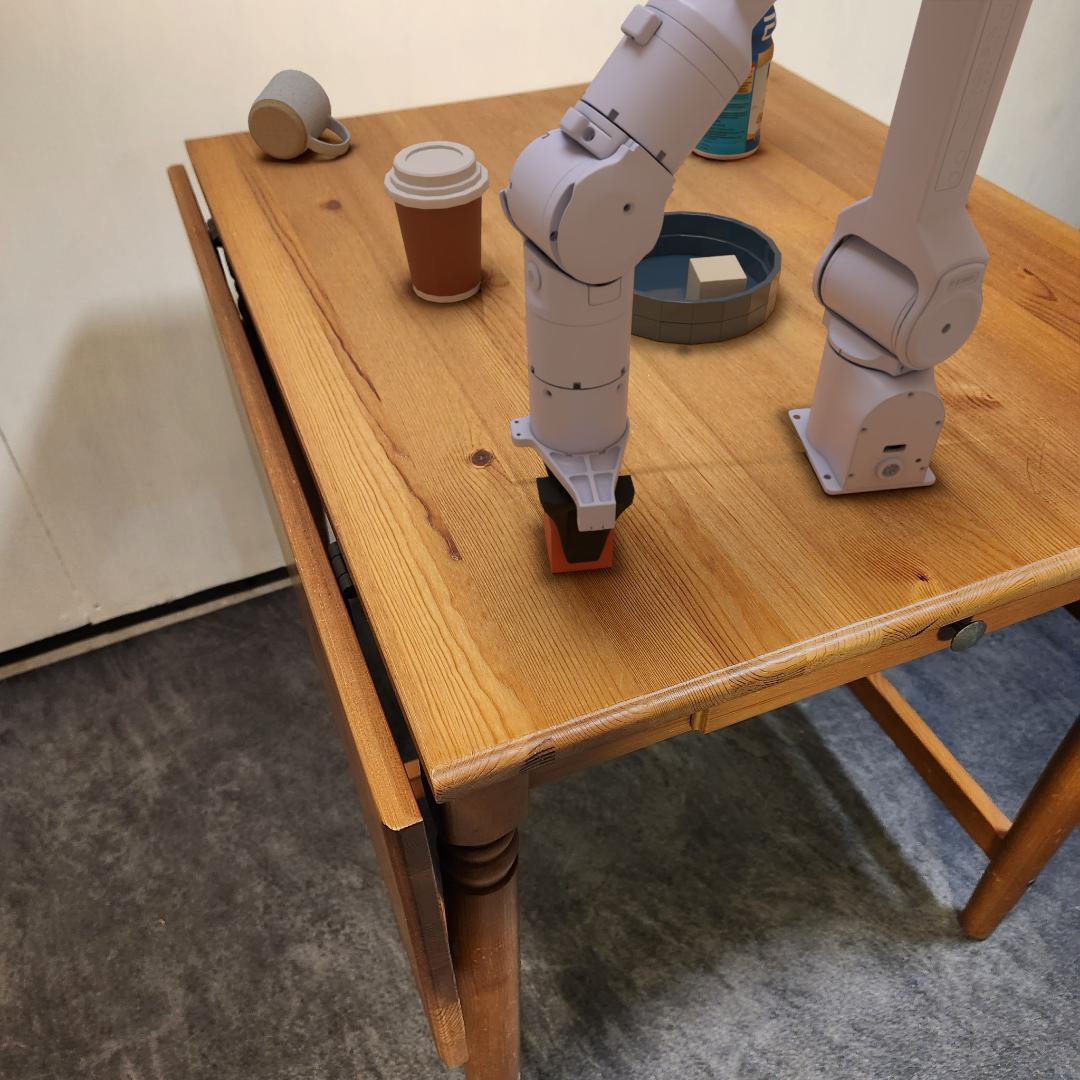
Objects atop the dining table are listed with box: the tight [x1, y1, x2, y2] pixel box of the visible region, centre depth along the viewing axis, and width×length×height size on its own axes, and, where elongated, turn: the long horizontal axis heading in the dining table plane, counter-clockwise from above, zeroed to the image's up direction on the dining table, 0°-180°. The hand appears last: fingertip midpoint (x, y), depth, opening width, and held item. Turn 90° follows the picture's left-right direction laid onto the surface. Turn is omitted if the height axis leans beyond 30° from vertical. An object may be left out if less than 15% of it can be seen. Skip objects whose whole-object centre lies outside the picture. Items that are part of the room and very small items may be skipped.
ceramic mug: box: [247, 69, 352, 160], centre depth 108 cm, size 11×8×8 cm
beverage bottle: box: [692, 4, 777, 161], centre depth 102 cm, size 8×8×20 cm
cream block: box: [686, 255, 747, 300], centre depth 81 cm, size 4×4×4 cm
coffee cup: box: [383, 140, 490, 304], centre depth 84 cm, size 9×9×12 cm
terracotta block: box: [543, 510, 615, 574], centre depth 62 cm, size 4×4×4 cm
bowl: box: [631, 210, 783, 345], centre depth 84 cm, size 16×16×4 cm
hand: (577, 533), depth 62 cm, fingers closed on terracotta block, 4 cm apart
